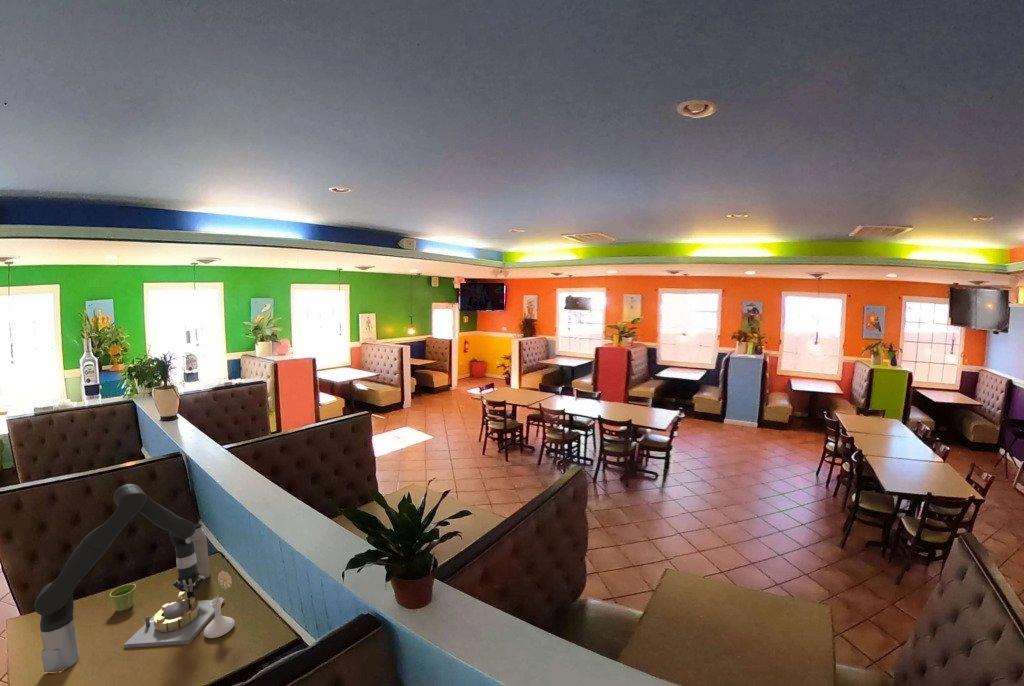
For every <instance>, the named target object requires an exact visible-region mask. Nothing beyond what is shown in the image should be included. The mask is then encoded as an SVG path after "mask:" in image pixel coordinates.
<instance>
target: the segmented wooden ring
mask: <svg viewBox="0 0 1024 686" xmlns="http://www.w3.org/2000/svg"><path fill="white" fill-rule="evenodd" d="M180 601H187V602H188V603H189V609H187V610H185V611H184V612H183V615H181V616H179V617H176V618H173V619H165V617H164V613H163V612H164V610H165V609H166V608H167V607H168V606H170V605H171V604H173V603H174V602H173V603H171V602H170V603H171V604H167V603H164V604H163V605H162V606H161V608H162V609H161V608H160V609H161V610H160V609H159V610H160V611H159V610H158V611H159V612H158V611H157V612H156V613H155V614H154V615H155V617H154V627H155V629H156V630H157V631H159V632H170V631H173V630H177V629H179V627H180V628H182V627H184V626H186V625H187V624H189V623H190V622H192V621H193V620H194V619H195V618H196V617H197V616H198V613H199V605H198V602H197V601H198V600H196V599H195V597H194V598H193V597H191V598H187V594H186V592H185V591H184V592H181V591H179V593H178V596H177V599H176V601H175V603H176V602H180Z"/></svg>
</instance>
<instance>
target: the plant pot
mask: <svg viewBox="0 0 1024 686" xmlns="http://www.w3.org/2000/svg"><path fill="white" fill-rule="evenodd" d="M136 587H137V585H136V584H135V583H127V584H123V585H121V586H118V587H117V588H114V589H113V590H112V591H111V592H110V593H109V597H111V599H112V601H113V603H114V606H115V611H117V612H123V611H125V610H126V611H127V610H128V609H130V608H132V607H133V606H134V603H135V601H134V600H135V591H136Z"/></svg>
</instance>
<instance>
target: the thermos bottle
mask: <svg viewBox="0 0 1024 686" xmlns="http://www.w3.org/2000/svg"><path fill="white" fill-rule="evenodd" d="M194 525H195V533H194V534H193V535H192V536H191V537H189V538H188V539H190V540H192V541H193V543H194V549H195V554H196V559H197V567H198V572H199V574H200V576H205V578H204V579H205V580H206V578H207V579H208V578H210V576H211V567H210V559H209V548H208V540H207V539H208V538H207V533H206V532H205V529H203V527H202V524H201V523H195V524H194ZM204 579H203V581H205V580H204ZM197 581H198V578H197V580H196V581H195V583H198V582H197Z"/></svg>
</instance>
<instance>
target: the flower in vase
mask: <svg viewBox="0 0 1024 686" xmlns="http://www.w3.org/2000/svg"><path fill="white" fill-rule="evenodd" d="M232 581H233V580H232V576H231V574H229V572H225V571H224V570H222V571H220V572H219V573H218V576H217V582H218V584H219V588H218V591H217V596H213V597H212V599H211V600H212V601H211V602H210V605H211V606H212V607H213V608H214V612H215V614H214V618H213V619H212V620H211V621H209V622H208V623H207V624H206V626H205V628H204V629H203V636H204V637H206V638H208V639H215V638H219V637H222V636H224V635H226V634H227V633H229V632H230V631H232V629H233V628H234V627H235V624H236V621H235V620H234V618H233V617H229V616H224V615H222V610H221V609H222V608H221V607H222V606H221V604H222V602H223V600H224V599H225V598H223V597H220V594H224V593H225V592H226V590H227V589H229V588H231V587H232V584H233V582H232Z"/></svg>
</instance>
